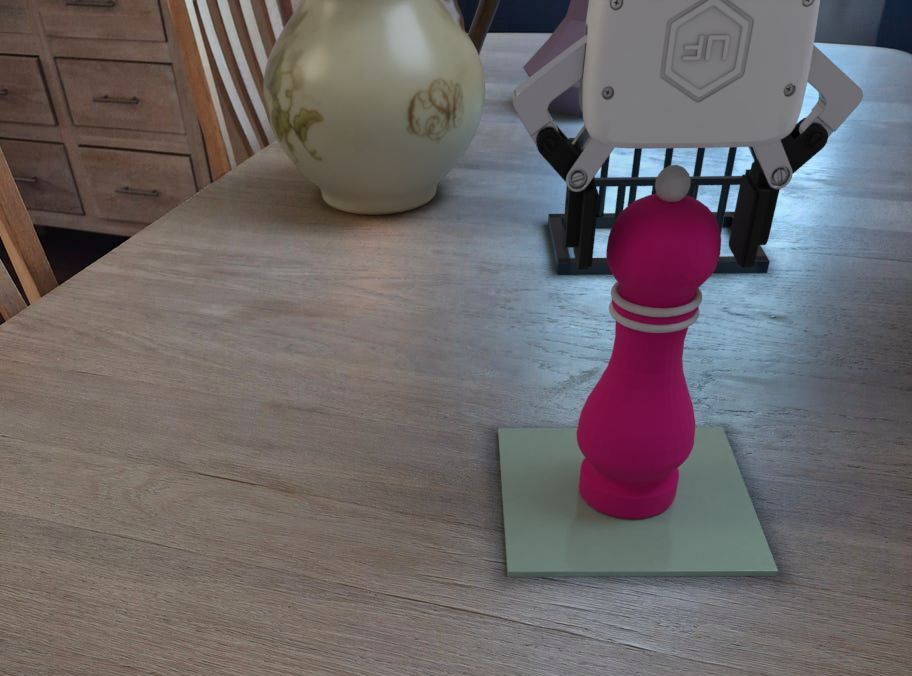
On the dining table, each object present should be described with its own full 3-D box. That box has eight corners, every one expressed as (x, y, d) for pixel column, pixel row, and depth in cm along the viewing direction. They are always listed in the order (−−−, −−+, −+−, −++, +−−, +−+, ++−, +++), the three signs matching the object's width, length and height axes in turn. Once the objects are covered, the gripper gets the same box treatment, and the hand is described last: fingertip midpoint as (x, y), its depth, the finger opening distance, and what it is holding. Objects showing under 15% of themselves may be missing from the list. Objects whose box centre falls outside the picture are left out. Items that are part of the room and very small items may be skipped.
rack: (738, 223, 96) (756, 134, 90) (766, 274, 87) (789, 178, 81) (547, 225, 96) (553, 136, 91) (557, 276, 88) (564, 181, 82)
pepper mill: (558, 512, 61) (589, 182, 47) (585, 453, 66) (620, 138, 52) (672, 534, 59) (739, 197, 45) (691, 471, 64) (756, 150, 50)
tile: (721, 432, 68) (722, 426, 68) (776, 577, 57) (778, 570, 56) (497, 434, 68) (498, 427, 68) (507, 578, 57) (507, 571, 57)
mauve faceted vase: (593, 83, 134) (609, -96, 120) (672, 111, 123) (699, -81, 110) (496, 102, 128) (501, -84, 114) (570, 133, 117) (585, -66, 104)
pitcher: (243, 223, 98) (198, -78, 81) (322, 151, 114) (299, -113, 97) (453, 243, 93) (453, -72, 76) (504, 165, 110) (514, -110, 92)
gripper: (517, -150, 37) (502, 290, 49) (972, -160, 36) (843, 286, 49) (509, -167, 42) (497, 234, 54) (905, -176, 42) (804, 230, 54)
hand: (661, 257), depth 51 cm, fingers open, 8 cm apart
